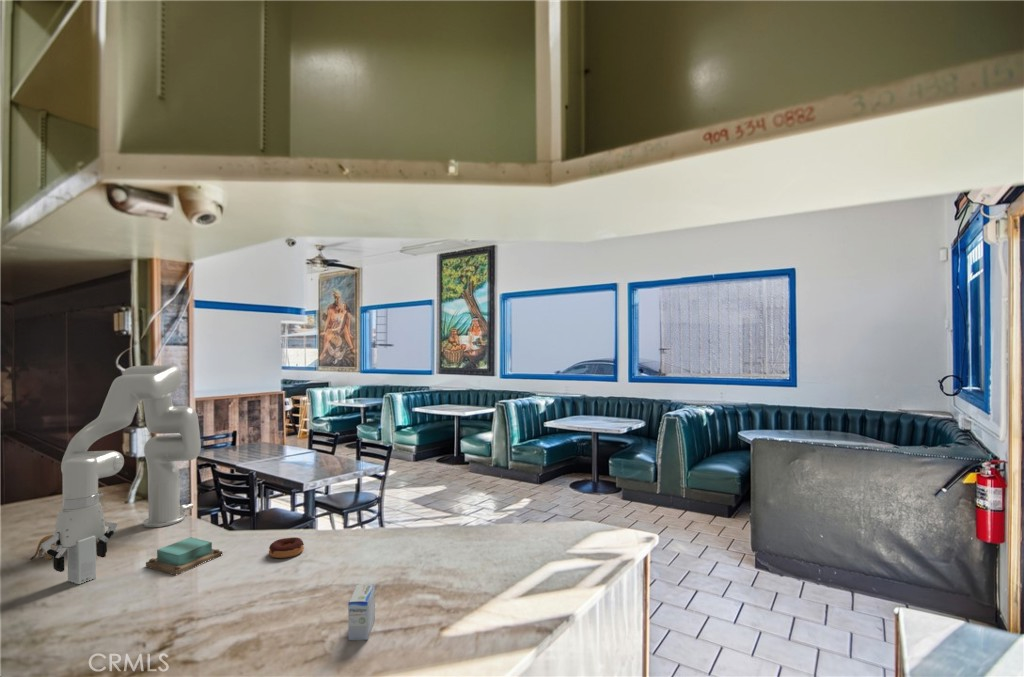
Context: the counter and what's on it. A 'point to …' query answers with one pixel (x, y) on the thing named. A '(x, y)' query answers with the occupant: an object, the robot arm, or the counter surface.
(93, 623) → the counter surface
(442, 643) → the counter surface
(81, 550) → the skincare box
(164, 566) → the tower base
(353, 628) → the medicine box
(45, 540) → the lion figurine
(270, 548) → the donut
